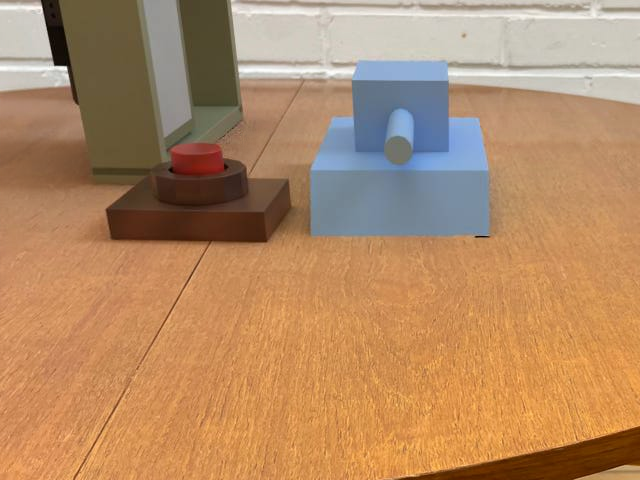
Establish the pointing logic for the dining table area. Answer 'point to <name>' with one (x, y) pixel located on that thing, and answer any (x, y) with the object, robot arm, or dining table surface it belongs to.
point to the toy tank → (400, 159)
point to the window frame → (151, 79)
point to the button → (197, 159)
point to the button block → (200, 206)
